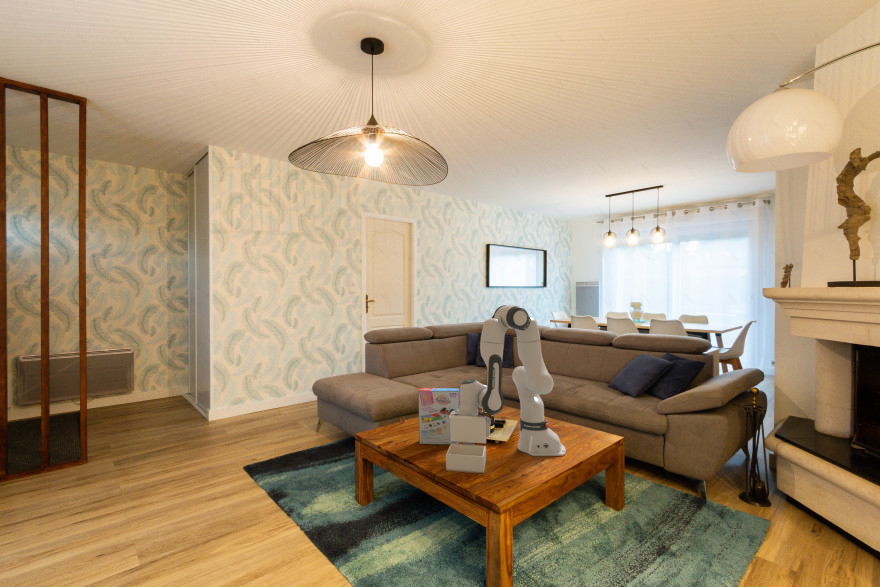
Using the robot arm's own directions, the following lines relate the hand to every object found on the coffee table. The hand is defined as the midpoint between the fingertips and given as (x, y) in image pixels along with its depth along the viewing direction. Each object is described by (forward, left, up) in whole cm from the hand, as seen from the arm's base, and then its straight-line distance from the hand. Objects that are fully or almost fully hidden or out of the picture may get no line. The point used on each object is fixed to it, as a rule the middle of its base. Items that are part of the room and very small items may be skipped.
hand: (467, 444), depth 189 cm
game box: (+16, -14, -5) cm, 22 cm away
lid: (-1, +7, +5) cm, 9 cm away
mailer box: (-1, +11, -5) cm, 13 cm away
